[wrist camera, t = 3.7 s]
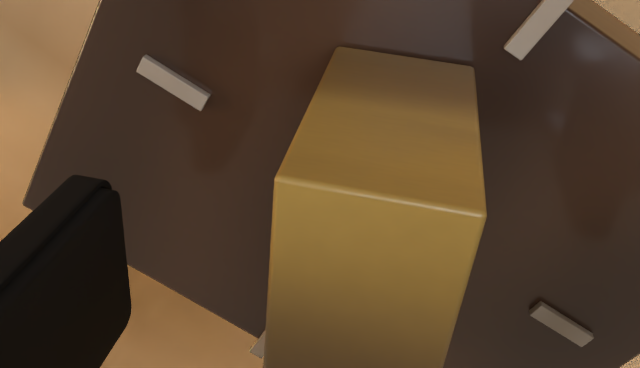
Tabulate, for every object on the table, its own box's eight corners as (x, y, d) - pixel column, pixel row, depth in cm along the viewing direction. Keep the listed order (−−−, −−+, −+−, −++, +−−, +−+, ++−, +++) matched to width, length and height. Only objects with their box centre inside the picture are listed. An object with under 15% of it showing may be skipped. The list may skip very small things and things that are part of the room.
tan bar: (336, 44, 11) (267, 187, 7) (475, 65, 10) (490, 227, 6) (306, 315, 14) (250, 514, 10) (410, 336, 14) (394, 548, 10)
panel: (81, 153, 17) (12, 219, 14) (262, -267, 11) (202, -288, 8) (467, 380, 19) (469, 475, 16) (791, 121, 13) (879, 203, 10)
